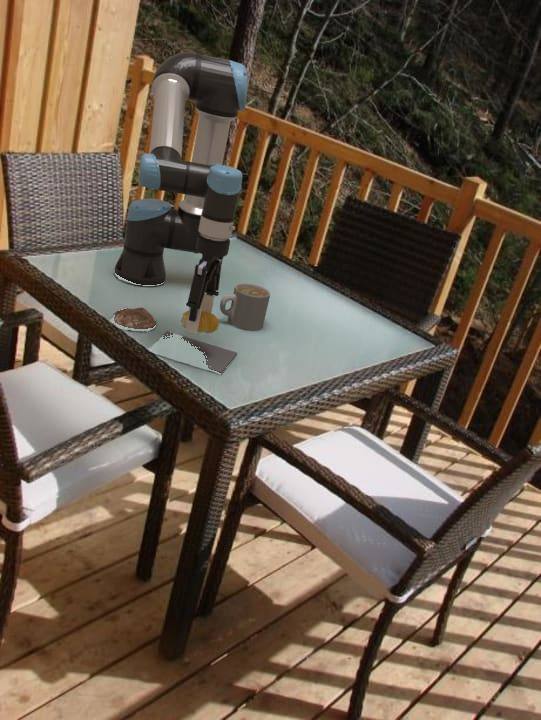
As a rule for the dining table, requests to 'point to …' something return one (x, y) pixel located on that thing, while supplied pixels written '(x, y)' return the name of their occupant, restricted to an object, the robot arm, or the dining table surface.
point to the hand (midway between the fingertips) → (197, 325)
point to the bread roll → (203, 322)
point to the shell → (135, 318)
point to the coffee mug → (246, 306)
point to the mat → (211, 353)
